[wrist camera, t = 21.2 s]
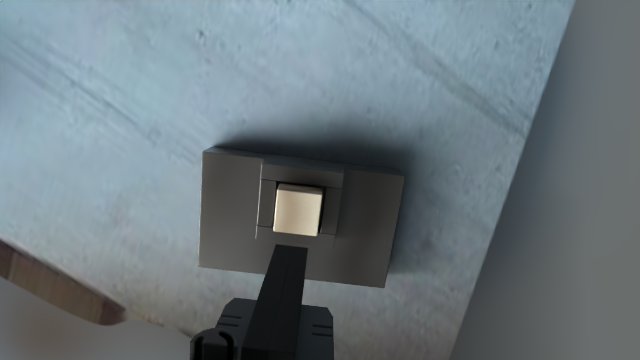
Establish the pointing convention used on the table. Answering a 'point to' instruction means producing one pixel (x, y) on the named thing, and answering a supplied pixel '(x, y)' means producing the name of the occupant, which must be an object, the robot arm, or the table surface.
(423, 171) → the table surface
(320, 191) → the cream square block
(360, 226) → the socket base
